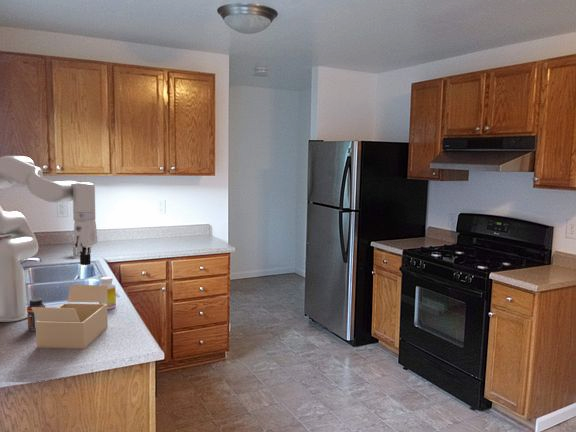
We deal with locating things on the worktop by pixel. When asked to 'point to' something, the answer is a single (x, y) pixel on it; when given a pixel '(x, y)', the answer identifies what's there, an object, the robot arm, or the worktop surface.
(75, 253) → the french press
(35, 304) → the supplement bottle
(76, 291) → the back flap
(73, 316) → the front flap
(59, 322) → the carton
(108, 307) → the supplement bottle
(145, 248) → the worktop surface
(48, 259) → the worktop surface
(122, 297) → the worktop surface
